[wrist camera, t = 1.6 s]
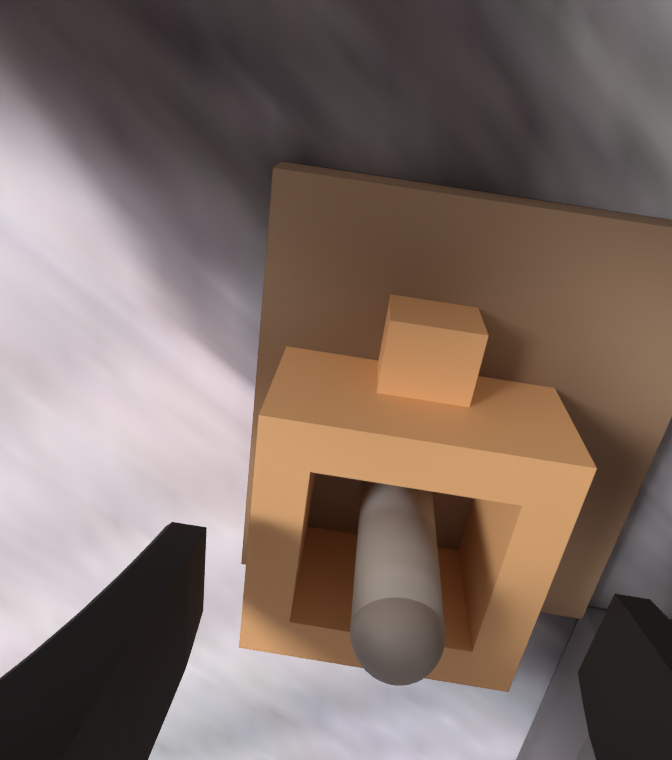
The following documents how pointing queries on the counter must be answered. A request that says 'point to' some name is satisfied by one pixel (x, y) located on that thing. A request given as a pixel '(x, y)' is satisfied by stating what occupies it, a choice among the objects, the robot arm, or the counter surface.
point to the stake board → (500, 361)
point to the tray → (565, 703)
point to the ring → (418, 471)
